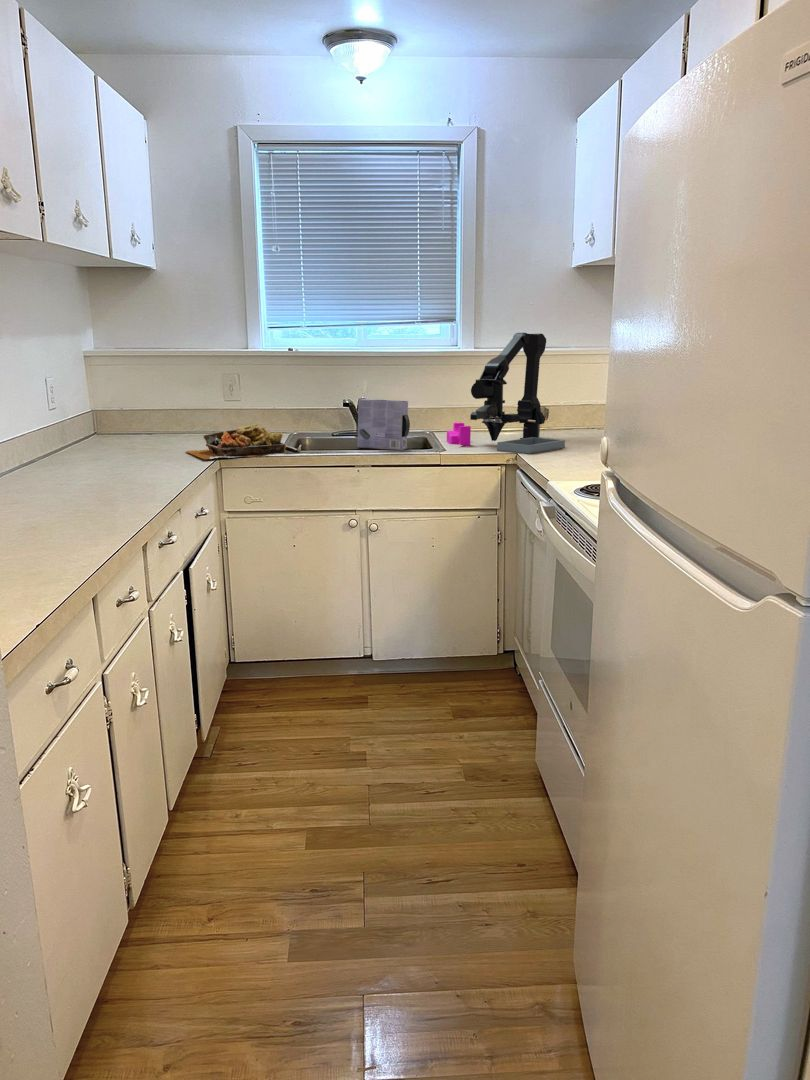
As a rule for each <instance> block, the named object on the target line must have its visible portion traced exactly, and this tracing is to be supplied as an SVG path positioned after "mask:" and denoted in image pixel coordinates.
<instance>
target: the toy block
mask: <svg viewBox="0 0 810 1080" xmlns="http://www.w3.org/2000/svg"><path fill="white" fill-rule="evenodd" d="M452 423H453V426H452V427H453V429H452V430H446V443H447V444H449V445H457V446H460V448H467V447H466V446H470V447H471V431H472V430H471V428H472V427H471V426H470V425H465V423H464V422H452Z"/></svg>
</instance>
